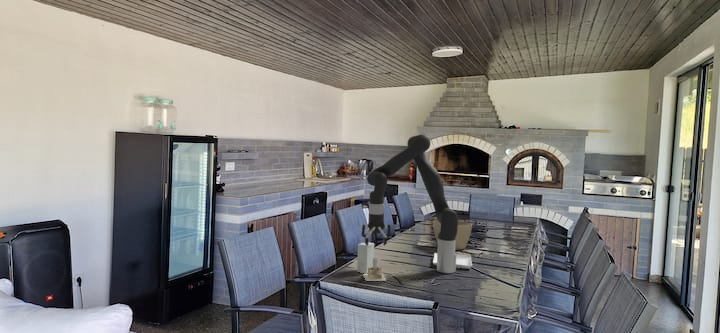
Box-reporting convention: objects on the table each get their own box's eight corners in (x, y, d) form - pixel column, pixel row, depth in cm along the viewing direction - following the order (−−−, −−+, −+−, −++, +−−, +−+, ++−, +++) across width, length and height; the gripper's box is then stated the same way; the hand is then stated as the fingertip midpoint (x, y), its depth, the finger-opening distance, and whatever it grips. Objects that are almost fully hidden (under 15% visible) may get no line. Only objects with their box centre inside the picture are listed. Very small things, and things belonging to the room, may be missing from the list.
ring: (379, 274, 218) (380, 266, 218) (381, 278, 212) (381, 270, 212) (367, 274, 217) (368, 266, 217) (369, 278, 211) (369, 270, 211)
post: (382, 275, 220) (383, 256, 220) (386, 281, 210) (386, 261, 210) (363, 275, 219) (363, 256, 219) (365, 281, 209) (366, 261, 209)
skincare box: (366, 274, 221) (367, 245, 220) (356, 272, 224) (357, 244, 223) (374, 270, 228) (375, 242, 228) (364, 268, 231) (365, 241, 231)
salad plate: (472, 271, 233) (472, 265, 233) (432, 268, 237) (432, 261, 237) (470, 261, 254) (471, 255, 253) (434, 258, 258) (434, 252, 258)
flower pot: (430, 245, 289) (431, 220, 288) (454, 243, 297) (455, 219, 296) (448, 252, 271) (449, 225, 271) (472, 250, 279) (473, 224, 279)
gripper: (389, 211, 217) (388, 243, 218) (361, 211, 216) (360, 243, 217) (392, 213, 210) (391, 246, 211) (362, 213, 208) (362, 247, 209)
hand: (375, 245), depth 214 cm, fingers open, 8 cm apart
